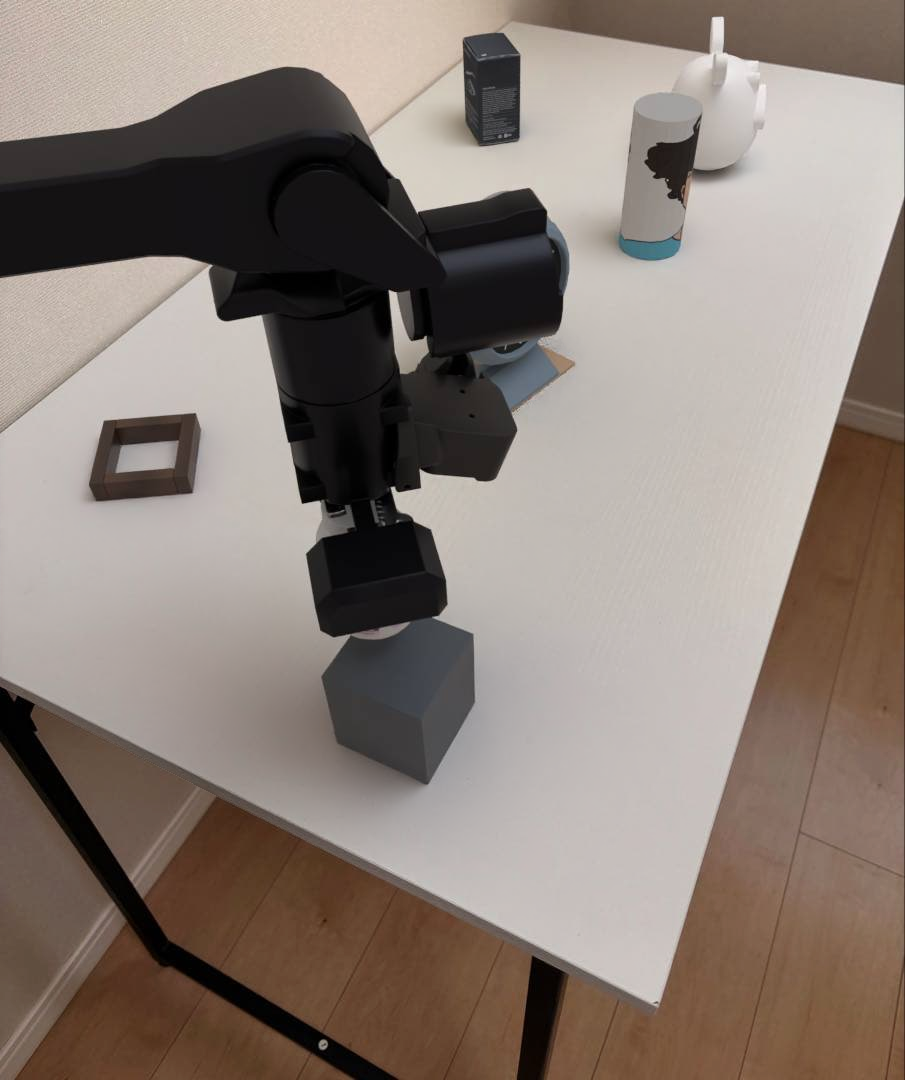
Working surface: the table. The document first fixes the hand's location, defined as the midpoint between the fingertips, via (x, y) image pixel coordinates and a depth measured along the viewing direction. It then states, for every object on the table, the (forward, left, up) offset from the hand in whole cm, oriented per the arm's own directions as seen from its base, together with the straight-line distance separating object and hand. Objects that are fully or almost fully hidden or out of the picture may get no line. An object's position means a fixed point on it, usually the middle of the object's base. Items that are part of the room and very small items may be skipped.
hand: (369, 578), depth 56 cm
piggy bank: (+17, +83, -13) cm, 86 cm away
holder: (-27, +19, -13) cm, 35 cm away
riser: (+2, -2, -13) cm, 13 cm away
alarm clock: (0, +37, -13) cm, 39 cm away
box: (-11, +87, -13) cm, 89 cm away
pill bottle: (0, 0, -3) cm, 3 cm away
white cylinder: (+12, +63, -13) cm, 65 cm away
